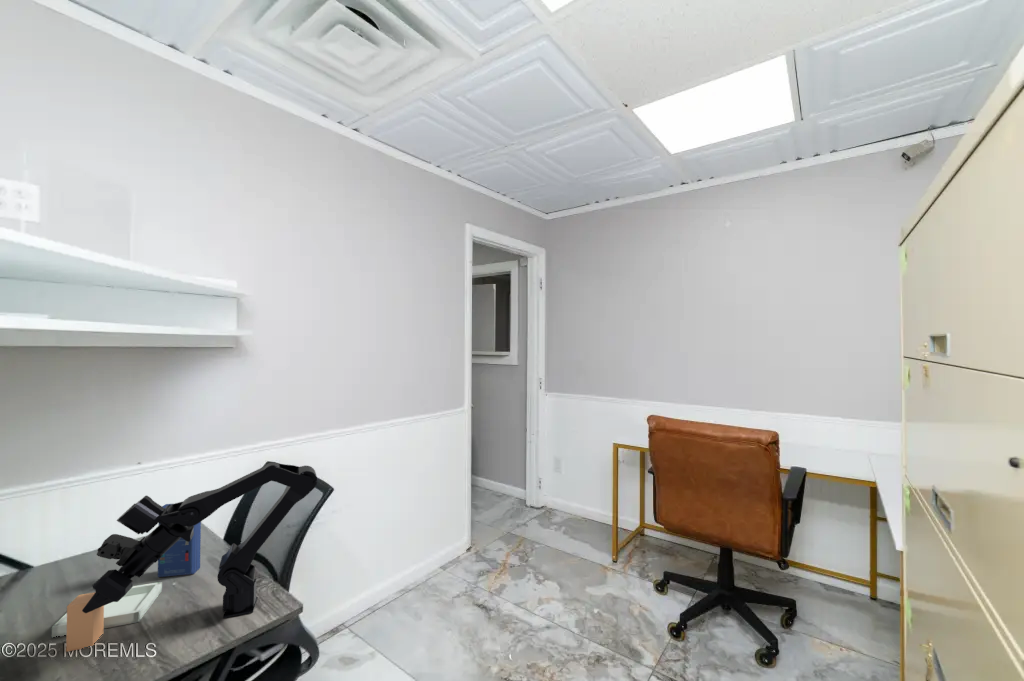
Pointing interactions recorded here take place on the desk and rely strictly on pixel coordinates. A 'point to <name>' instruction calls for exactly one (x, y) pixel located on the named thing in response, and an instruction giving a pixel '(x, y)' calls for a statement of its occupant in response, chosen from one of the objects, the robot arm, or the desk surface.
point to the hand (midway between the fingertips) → (95, 599)
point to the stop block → (83, 623)
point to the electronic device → (181, 556)
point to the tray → (122, 608)
